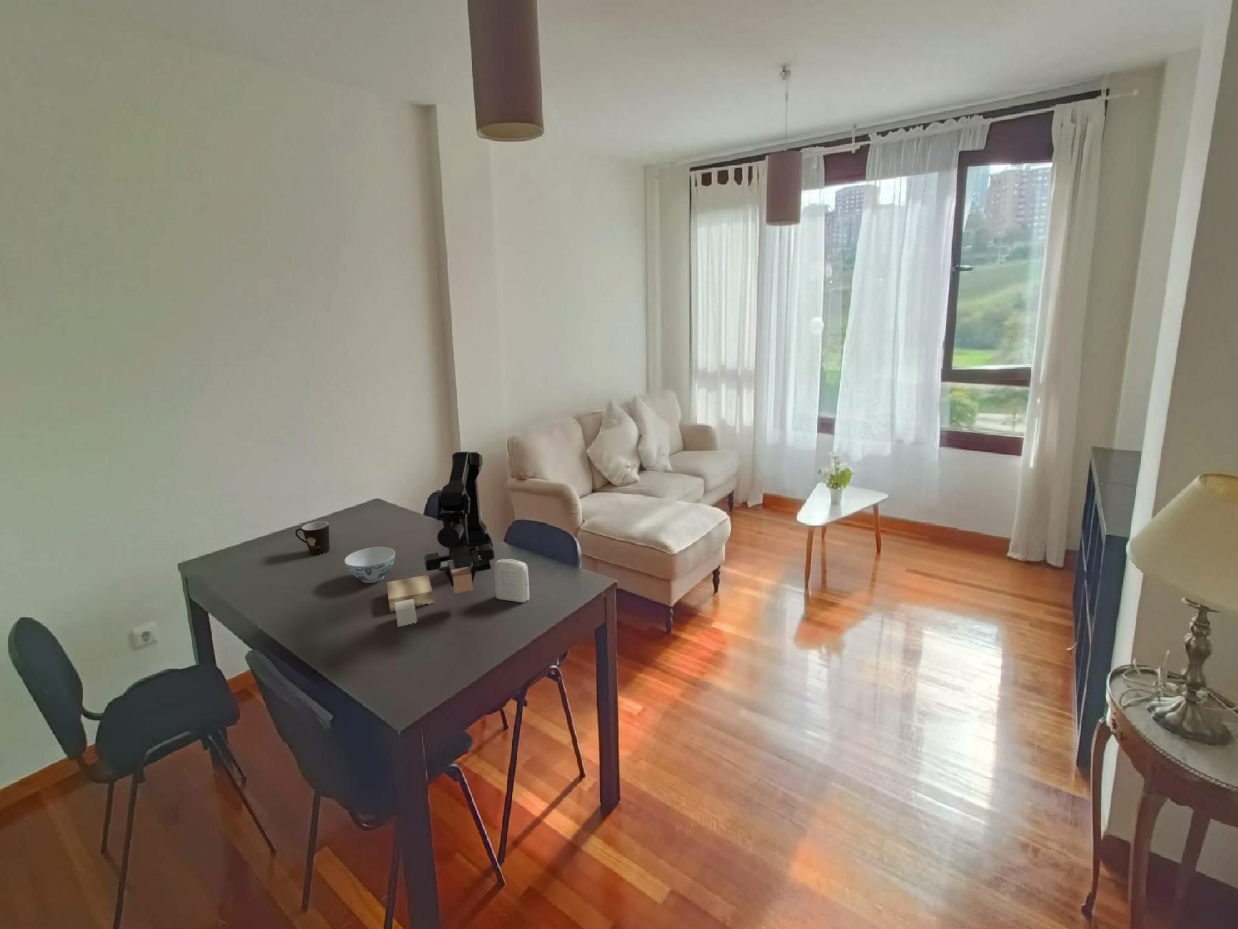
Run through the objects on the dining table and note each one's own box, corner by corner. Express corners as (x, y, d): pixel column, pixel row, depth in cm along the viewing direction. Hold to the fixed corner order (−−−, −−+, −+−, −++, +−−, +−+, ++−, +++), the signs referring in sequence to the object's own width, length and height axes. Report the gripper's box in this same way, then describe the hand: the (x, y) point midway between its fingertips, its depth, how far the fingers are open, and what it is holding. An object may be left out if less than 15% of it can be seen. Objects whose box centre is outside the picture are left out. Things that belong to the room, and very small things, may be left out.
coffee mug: (338, 550, 220) (333, 523, 218) (315, 558, 213) (310, 531, 211) (319, 543, 226) (314, 518, 224) (296, 552, 219) (291, 526, 217)
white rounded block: (532, 597, 182) (529, 558, 178) (525, 604, 178) (522, 564, 174) (501, 593, 185) (497, 555, 181) (494, 599, 181) (490, 561, 178)
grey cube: (415, 614, 174) (413, 598, 172) (417, 623, 169) (414, 606, 168) (396, 618, 172) (394, 602, 170) (397, 627, 167) (395, 610, 166)
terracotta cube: (470, 582, 178) (468, 566, 177) (472, 589, 174) (471, 573, 173) (452, 586, 177) (450, 570, 175) (454, 593, 172) (453, 577, 171)
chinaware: (385, 564, 207) (382, 543, 205) (406, 577, 197) (403, 555, 195) (340, 579, 197) (336, 556, 195) (359, 593, 187) (355, 570, 185)
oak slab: (429, 586, 190) (427, 574, 189) (433, 603, 179) (432, 591, 178) (388, 594, 186) (386, 582, 185) (390, 612, 175) (388, 599, 174)
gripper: (425, 549, 160) (431, 603, 164) (496, 537, 167) (500, 589, 171) (421, 535, 170) (427, 586, 174) (488, 524, 177) (492, 574, 181)
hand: (462, 584), depth 175 cm, fingers closed on terracotta cube, 5 cm apart
